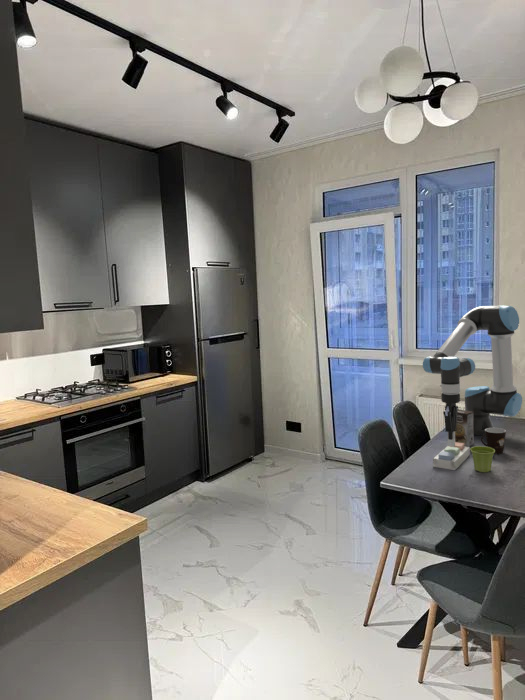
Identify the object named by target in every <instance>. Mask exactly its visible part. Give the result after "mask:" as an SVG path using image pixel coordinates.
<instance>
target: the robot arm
mask: <svg viewBox="0 0 525 700" xmlns="http://www.w3.org/2000/svg"><path fill="white" fill-rule="evenodd" d="M519 324H520V316H519V313H518V311H517V309H516V308H515V307H513V306H511V305H482V306H477V307H474V308H473V309H471V310H469V311H468V312H467V313H465V314H464V315H463V316H462V317H461V318H460V319H459V320H458V322H457V326H456V328H455V329H453V331H452V332H451V334H450V335H449V336H448V337H447V338H446V340H444V342H443V344H441V346H440V347H439V349H437V351H436V352H435V354H433V355H432V356H426V357H424V359H423V360H422V368H423V371H424V372H425V373H429V374H435V375H436V374H437V375H440V377H441V378H440V379H441V380H440V381H441V382H440V385H439V386H440V389H441V396H440V397H441V399H440V400H441V402H442V403H445V406H444V411H443V412H442V413H443V418H444V424H445V425H444V427H445V432H446V433H447V446H451V447H455V431H457V429H455V428H457V411H458V409H459V406H458V405H457V404H458V403H460V401H461V394H460V393H461V383H460V382H461V381H460V378H462V377H466V376H469V375H471V374H473V373H474V372H475V369H476V364H475V363H476V362H475V361H474V360H473V359H471V358H469V357H463V358H459V357H457V356H456V355H457V354H458V353H459V351H460V350H461V348H462V347H463V346H464V344H466V342H467V340H468V339H469V338H470V337H471V336H472V335H475V334H476V332H479V331H487V335H488V336H489V337H490V338H491V356H492V360H491V362H492V374H493V375H492V377H493V379H492V381H493V385H492V386H491V387H489V386H488V385H487V386H486V385H481V386H472V387H467V388H466V389H465V391H464V410H466V411H472V412H473V436H483V435H486V434H485V429H487V428H494V425H493V422H492V420H491V417H490V416H491V415H490V414H492V415H497V416H503V417H516V416H517V415H518V413H519V412H520V410H521V407H522V404H523V397H522V394H521V393H519V392H517V391H518V390H517V387H516V386H515V385H514V383H513V382H514V380H513V375H514V374H513V355H512V351H513V350H512V336H514V335H515V331H517V330H518V329H519Z"/></svg>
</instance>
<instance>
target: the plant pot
mask: <svg viewBox="0 0 525 700" xmlns="http://www.w3.org/2000/svg"><path fill="white" fill-rule="evenodd" d="M470 453H471V455H472V460H473V461H472V462H473V467H474V470H475V471H478V472H479V473H488V472H491V470H492V463H493V458H494V457H493V456H494V455H495V454H494V453H495V450H494V449H493V448H490V447H487V446H486V445H475V446H472V447H470Z"/></svg>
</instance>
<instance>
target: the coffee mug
mask: <svg viewBox="0 0 525 700" xmlns="http://www.w3.org/2000/svg"><path fill="white" fill-rule="evenodd" d="M506 433H507V430H506V429H504V428H501V427H493V428H487V429H485V434H486V435H481V437H480V442H481V443H482V445H483V446H485V447H490V448H493V449H494V450H495V453H494V455H501V454H502V455H503V454H504V451H505V442H506ZM483 438H485V440H486V443H485V442H484V440H483Z"/></svg>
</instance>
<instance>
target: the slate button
mask: <svg viewBox="0 0 525 700" xmlns="http://www.w3.org/2000/svg"><path fill="white" fill-rule="evenodd" d="M441 451H442V450H441ZM441 451H440V452H441ZM440 452H439V453H440ZM439 453H438V454H439ZM438 454H437V455H438ZM438 457H439V459H442V460H448V461H451V460H452V459H454V453H451V452H444V451H442V452H441V453H440V454H439V455H438Z"/></svg>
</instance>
